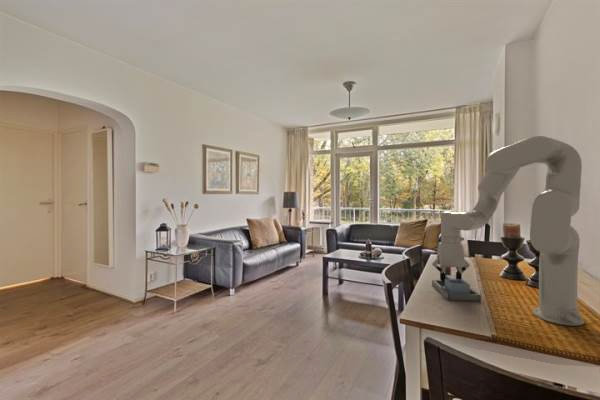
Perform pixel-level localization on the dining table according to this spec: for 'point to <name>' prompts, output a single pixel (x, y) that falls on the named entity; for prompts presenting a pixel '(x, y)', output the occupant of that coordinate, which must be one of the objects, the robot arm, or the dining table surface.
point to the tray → (456, 297)
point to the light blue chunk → (456, 285)
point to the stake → (448, 271)
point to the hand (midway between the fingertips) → (450, 281)
